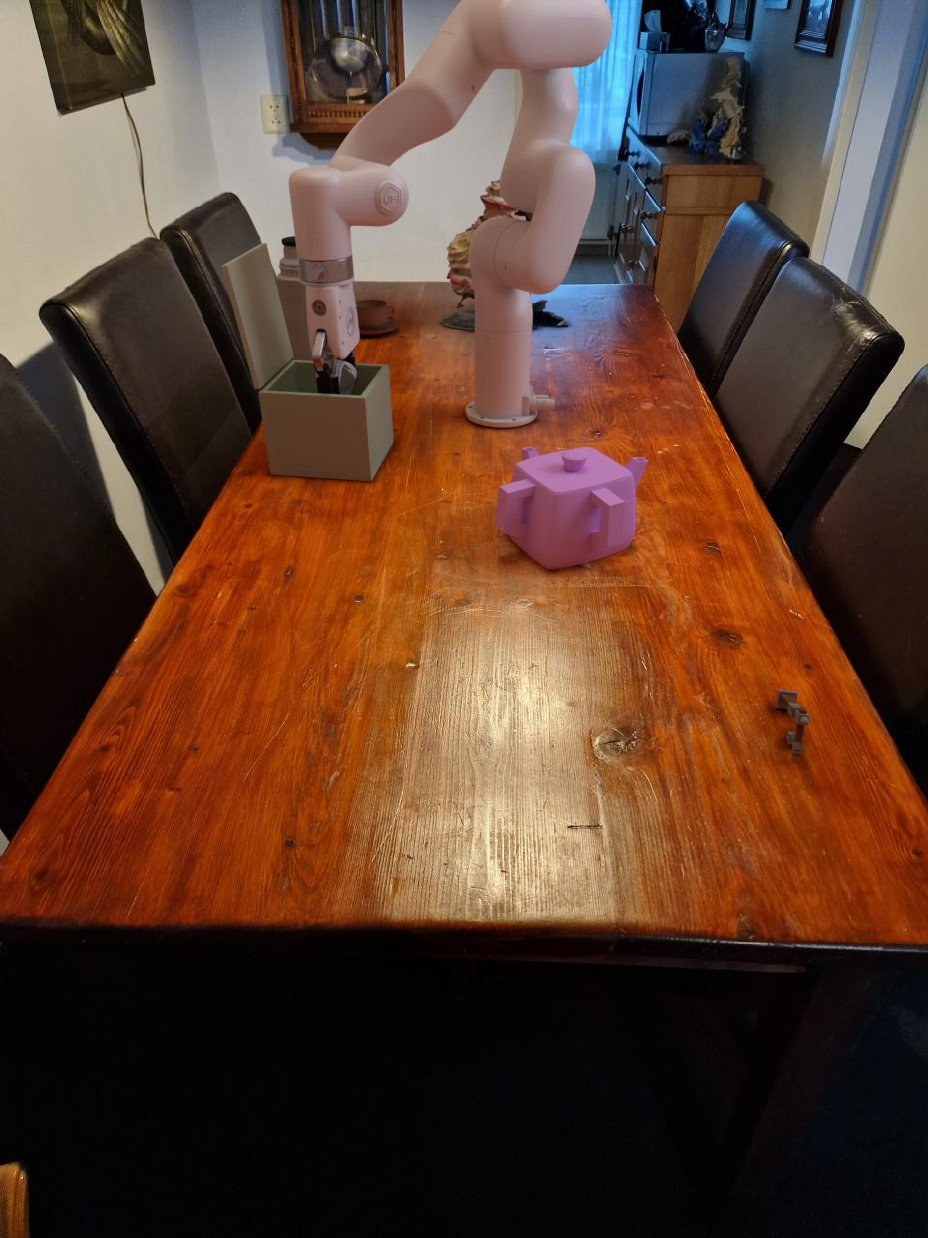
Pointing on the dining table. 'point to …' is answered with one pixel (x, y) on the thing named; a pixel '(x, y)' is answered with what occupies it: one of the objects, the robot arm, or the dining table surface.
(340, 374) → the watch
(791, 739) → the grey jointed linkage
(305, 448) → the grey open box
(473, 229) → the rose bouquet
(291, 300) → the thermos bottle
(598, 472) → the teakettle
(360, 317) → the cup and saucer
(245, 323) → the lid
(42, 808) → the dining table surface
